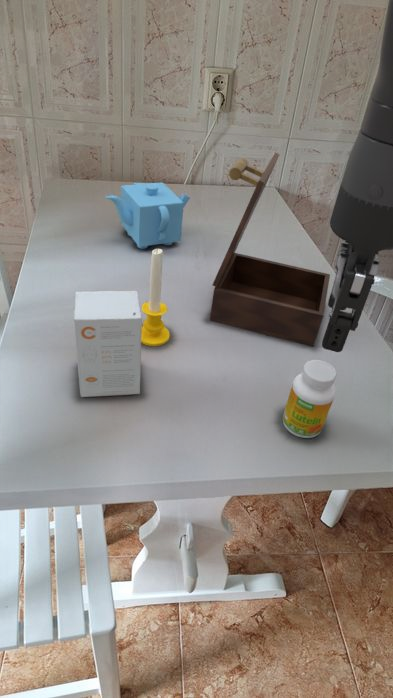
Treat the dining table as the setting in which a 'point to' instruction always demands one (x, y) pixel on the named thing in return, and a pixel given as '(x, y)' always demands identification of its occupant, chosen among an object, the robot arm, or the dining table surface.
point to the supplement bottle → (310, 399)
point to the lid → (260, 184)
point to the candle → (154, 306)
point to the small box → (108, 342)
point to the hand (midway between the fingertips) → (333, 326)
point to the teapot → (150, 213)
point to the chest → (271, 299)
